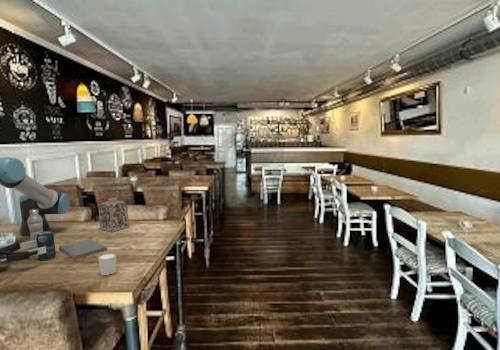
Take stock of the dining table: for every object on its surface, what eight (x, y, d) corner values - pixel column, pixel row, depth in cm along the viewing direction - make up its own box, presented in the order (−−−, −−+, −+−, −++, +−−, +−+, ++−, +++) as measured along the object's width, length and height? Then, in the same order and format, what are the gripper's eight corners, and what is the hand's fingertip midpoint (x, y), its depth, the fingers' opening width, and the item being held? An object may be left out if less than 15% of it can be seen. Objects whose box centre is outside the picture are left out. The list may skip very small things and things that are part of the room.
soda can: (48, 261, 157) (45, 235, 155) (35, 260, 158) (32, 234, 157) (59, 255, 164) (56, 230, 162) (46, 254, 165) (43, 230, 163)
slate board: (59, 249, 172) (58, 246, 172) (90, 241, 183) (89, 238, 182) (74, 259, 158) (74, 256, 158) (107, 250, 169) (106, 247, 169)
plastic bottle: (49, 247, 175) (44, 208, 173) (37, 252, 169) (32, 211, 166) (39, 246, 178) (35, 207, 175) (27, 250, 171) (22, 211, 168)
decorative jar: (129, 227, 207) (127, 197, 204) (112, 232, 197) (109, 201, 195) (116, 224, 213) (114, 195, 211) (99, 229, 204) (96, 199, 201)
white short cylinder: (102, 269, 145) (101, 253, 144) (119, 268, 146) (118, 252, 145) (97, 277, 138) (95, 260, 137) (114, 275, 139) (113, 259, 138)
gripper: (-22, 261, 152) (33, 248, 167) (-10, 277, 135) (50, 260, 150) (-24, 244, 151) (32, 232, 166) (-13, 258, 134) (48, 244, 149)
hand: (41, 246), depth 158 cm, fingers open, 13 cm apart
